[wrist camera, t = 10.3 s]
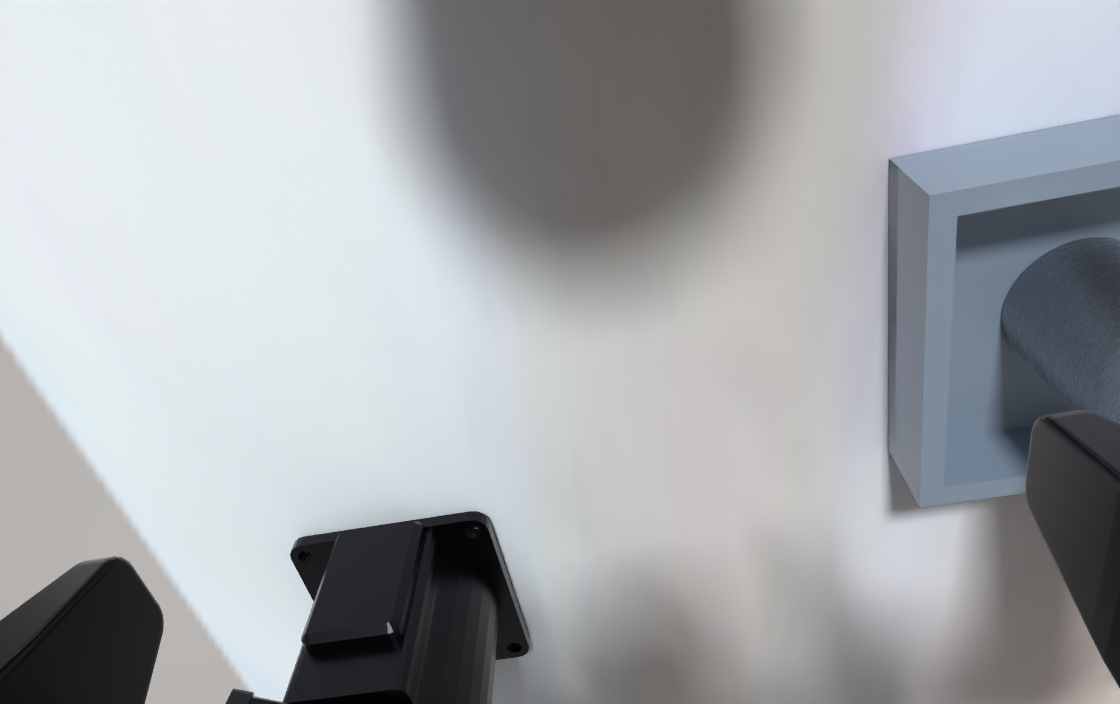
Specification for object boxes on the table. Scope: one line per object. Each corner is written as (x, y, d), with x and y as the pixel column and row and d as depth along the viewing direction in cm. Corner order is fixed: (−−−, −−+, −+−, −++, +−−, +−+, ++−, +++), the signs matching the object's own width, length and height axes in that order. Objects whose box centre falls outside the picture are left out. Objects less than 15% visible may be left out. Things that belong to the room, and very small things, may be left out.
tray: (1213, 401, 23) (1281, 456, 20) (888, 450, 24) (919, 507, 22) (1296, 80, 18) (1394, 108, 16) (889, 158, 19) (929, 195, 17)
